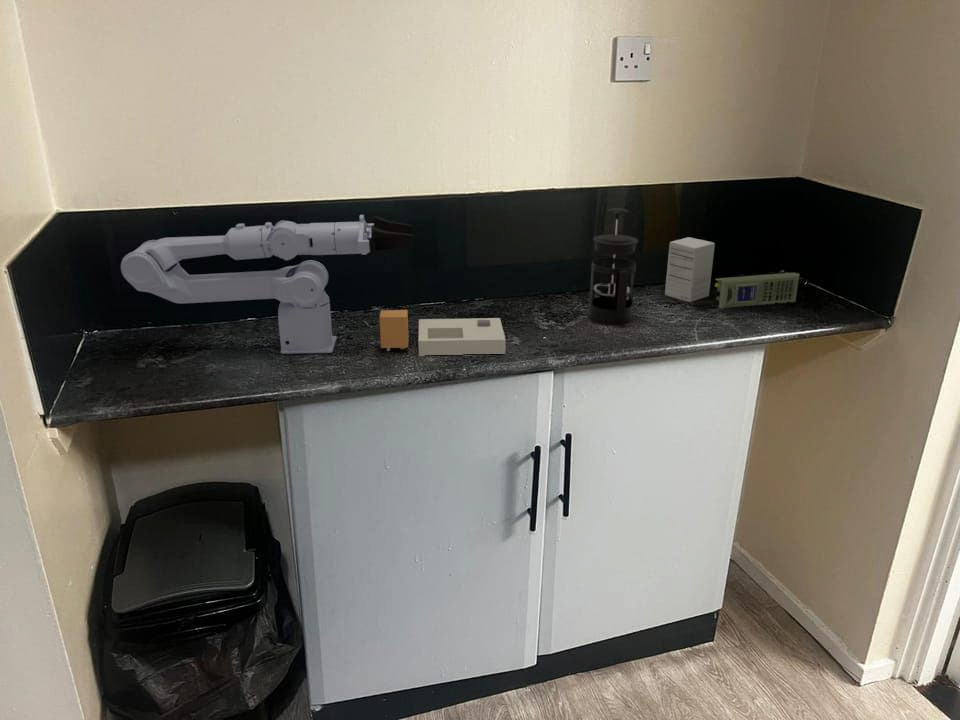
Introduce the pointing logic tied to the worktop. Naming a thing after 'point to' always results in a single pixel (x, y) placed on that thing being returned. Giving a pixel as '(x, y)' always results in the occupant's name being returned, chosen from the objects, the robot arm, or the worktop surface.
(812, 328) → the worktop surface
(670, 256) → the grey drawer unit
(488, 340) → the socket
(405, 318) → the plug
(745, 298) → the handheld radio
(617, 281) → the french press
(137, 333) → the worktop surface
